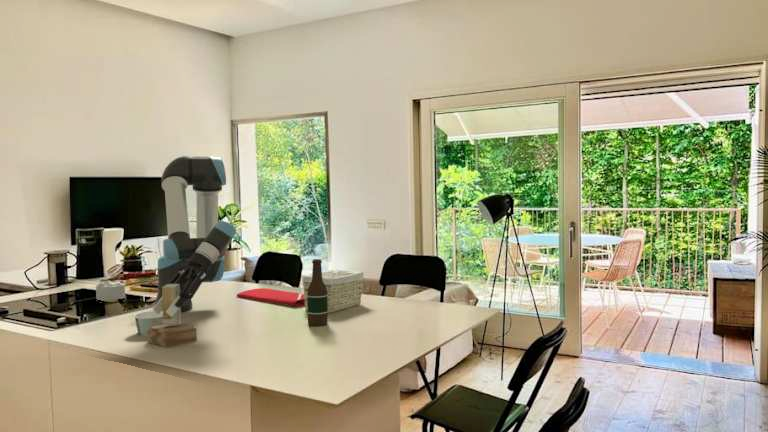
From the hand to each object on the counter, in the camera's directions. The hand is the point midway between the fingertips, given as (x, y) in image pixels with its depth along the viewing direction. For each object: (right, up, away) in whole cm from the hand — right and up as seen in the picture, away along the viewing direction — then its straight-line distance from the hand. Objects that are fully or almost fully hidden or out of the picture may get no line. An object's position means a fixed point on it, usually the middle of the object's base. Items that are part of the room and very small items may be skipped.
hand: (162, 313), depth 188 cm
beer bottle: (+47, -9, +27) cm, 55 cm away
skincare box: (+2, -4, +3) cm, 5 cm away
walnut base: (+2, -10, +3) cm, 11 cm away
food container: (-10, -10, +16) cm, 21 cm away
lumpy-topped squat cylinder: (-54, -7, +77) cm, 94 cm away
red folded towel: (+24, -7, +75) cm, 79 cm away
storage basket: (+51, -7, +57) cm, 77 cm away
